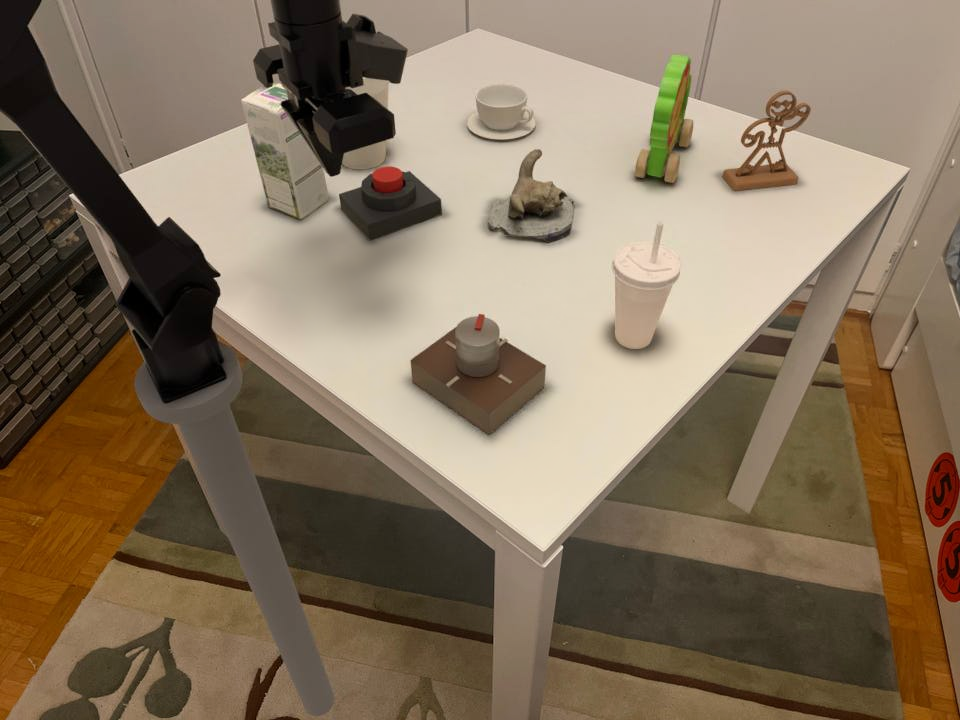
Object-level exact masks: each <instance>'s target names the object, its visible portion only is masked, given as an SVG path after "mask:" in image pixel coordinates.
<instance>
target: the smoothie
mask: <svg viewBox="0 0 960 720" xmlns="http://www.w3.org/2000/svg"><path fill="white" fill-rule="evenodd" d="M663 228H664V223H663V222H662V221H658V222H657V223H656V227H655V232H654V238H653V242H650V241H636V242H630V243H627V244H624V245H622V246H621V247H619V248H618V249H617V250H616V251H615V253H614V254H613V259H612V261H611V271H612V272H613V275H614V337H615V341H617V343H618V344H619V345H621V346H622V347H623V348H627V349H630V350H641V349H644V348H646V347H648V346H649V345H650V344H651V342H652V339H653V337H654V335H655V331H656V329H657V326H658V325H659V321H660V319H661V316H662V314H663V311H664V309H665V307H666V303H667V300H668V298H669V296H670V294H671V291H672V289H673V285H674V284H676V283H677V281H678V280H679V278H680V275H681V270H682V262H681V258H680V257H679V256H678V254H677V253H675V251H673V250H672V249H670V248H668V247H667V246H664V245H662V244H661V238H662V234H663Z"/></svg>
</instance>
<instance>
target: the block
mask: <svg viewBox="0 0 960 720" xmlns="http://www.w3.org/2000/svg"><path fill="white" fill-rule="evenodd" d="M401 171H402V176H403V188H402V189H401V190H400V191H397V192H394V193H380V192H376V191H375V189H374V186H373V178H372V174H373V172H372V173H370V174H368V175H367V176H366V177H364V179H362V181H361V184H360V186H359V187H356V188H353V189H349V190H347V191H344V192H341V193H339V194H338V198H339V204H340V210H341V211H342V212H343V213H344V214H345V215H346V216H347V217H348V218H349V219H350V221H351V222H352V223H353V224H354V225H355V226H356V227H357V228H358V229H359V230H360V231H361V233H362V234H364V236H365V237H366V238H367V239H368V240H369V241H372V240H375V239H378V238H380V237H383V236H386V235H388V234H391V233H394V232H396V231H400V230H402V229H405V228H408V227H411V226H413V225H416V224H419V223H422V222H425V221H427V220H430V219H432V218H436V217H439V216H441V215H442V214H443V213H442V209H443V208H442V198H440V197H439V196H438V195H437V194H436V193H435V192H433V190H432V189H430V187H428V186H427V185H426V184H425V183H424V182H423V181H422V180H420V179H419V178H418V177H417V176H416V175H415V174H414V173H413V172H412V171H410V170H407V171H403V170H401Z"/></svg>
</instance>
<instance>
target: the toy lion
mask: <svg viewBox="0 0 960 720" xmlns="http://www.w3.org/2000/svg"><path fill="white" fill-rule="evenodd" d="M691 63H692V58H691V57H690V56H687V55H682V54H681V55H680V54H671V55H670V58H669V60H668V64H667V65H666V67H665V70H664V74H663V77H662V79H661V82H660V85H659V89H658V94H657V98H656V101H655V104H654V109H653V115H652V121H651V127H650V131H649V146H650V149H645V148H642V149H641V150H640V152H639V154H638V157H637V160H636V163H635V173H634V174H635V177H636V178H642V179H644V178H645V177H646V176H647V175H648V176H652V177H655V178H656V177H657V178H663V177H664V182H665V183H671V184H674V183H675V181H676V179H677V177H678V173H679V169H680V163H681V161H680V160H681V156H680V154H679V153H672V151H673V149H674V147H675V145H676V143H678V146H679V147H680V148H681V147H682V148H688V147H689V145H690V143H691V140H692V137H693V132H694V120H693V119H692V118H685V116H686V112H687V111H686V110H687V106H688V102H689V97H690V91H691V86H692V74H691Z"/></svg>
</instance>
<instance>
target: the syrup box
mask: <svg viewBox="0 0 960 720" xmlns="http://www.w3.org/2000/svg"><path fill="white" fill-rule="evenodd" d="M240 100H241V105H242V108H243V109H242V110H243V113H244V117H245V121H246V125H247V129H248V133H249V136H250V140H251V144H252V147H253V152H254V156H255V161H256V164H257V169H258V172H259V176H260V179H261V184H262V188H263V191H264V195H265V200H266V203H267V207H268V208H271V209H273V210H275V211H278V212H281V213H283V214H285V215H288V216H290V217H293V218H295V219H298V220H303V219H304V218H306V217H308V216H309V215H310V214H312V213H313V212H315V211H316V210H317V209H318V208H320V207H322V206H323V205H324V204H326V203H327V202H328V201H329V200H330V196H329V195H330V194H329V190H328V185H327V180H326V175H325V170H324V168H323V167H322V165H321V164H320V162H319V161H318V159H317V158H316V156H315V155H314V153H313V152H312V150H311V149H310V147H309V146H308V144H307V143H306V141H305V140H304V138H303V137H302V135H301V134H300V133H299V131H298V130H297V128H296V127H295V125H294V124H293V122H292V121H291V119H290V118H289V116H288V115H287V114H286V112H285V111H284V110H283V108H282V107H281V104H280V103H281V102H282V101H284V100H288V97H287V91H286V89H285V88H283V87H282V84H281V83H279V82H275V81H274V82H273V86H272V87H269V88H266V87H265V86H264V85H263V86H260V87H259V88H257V89H256V90H254V91H252V92H251V93H249V94H247V95H246V96H244V97H243V98H241V99H240Z"/></svg>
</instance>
